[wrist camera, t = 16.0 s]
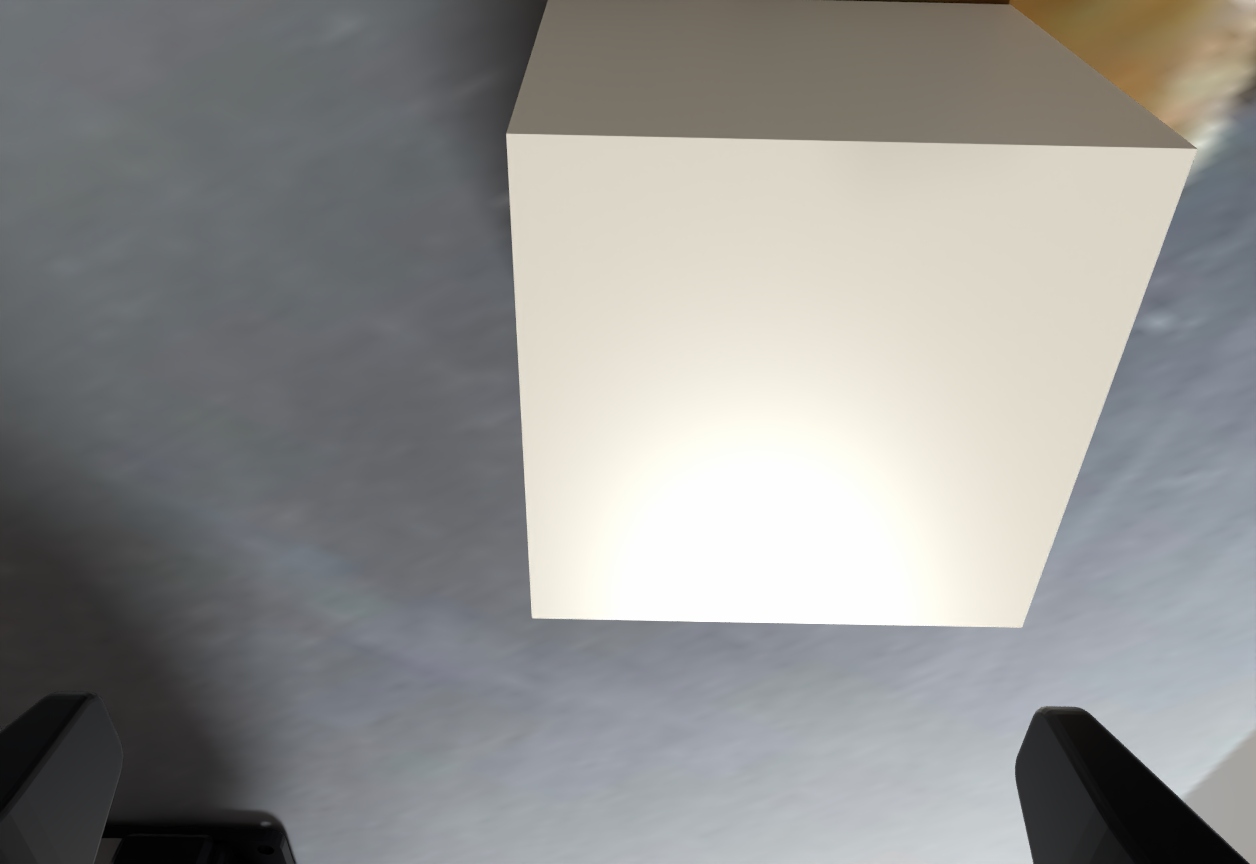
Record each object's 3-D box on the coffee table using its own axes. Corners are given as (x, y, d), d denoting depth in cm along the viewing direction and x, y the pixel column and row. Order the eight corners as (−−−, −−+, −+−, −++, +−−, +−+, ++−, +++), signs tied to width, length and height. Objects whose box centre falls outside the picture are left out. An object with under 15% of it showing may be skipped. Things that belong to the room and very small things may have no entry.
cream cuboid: (920, 388, 21) (1022, 627, 16) (559, 381, 21) (532, 617, 15) (1010, 4, 16) (1197, 149, 11) (550, -7, 16) (506, 133, 11)
